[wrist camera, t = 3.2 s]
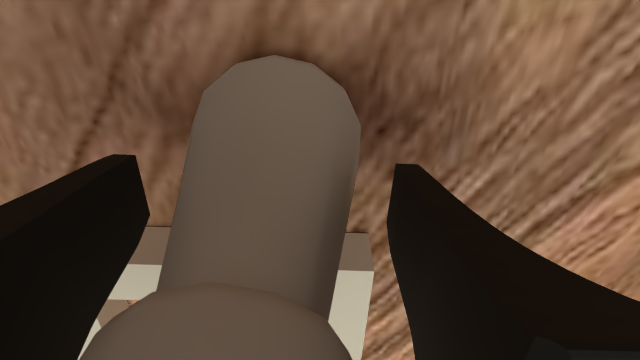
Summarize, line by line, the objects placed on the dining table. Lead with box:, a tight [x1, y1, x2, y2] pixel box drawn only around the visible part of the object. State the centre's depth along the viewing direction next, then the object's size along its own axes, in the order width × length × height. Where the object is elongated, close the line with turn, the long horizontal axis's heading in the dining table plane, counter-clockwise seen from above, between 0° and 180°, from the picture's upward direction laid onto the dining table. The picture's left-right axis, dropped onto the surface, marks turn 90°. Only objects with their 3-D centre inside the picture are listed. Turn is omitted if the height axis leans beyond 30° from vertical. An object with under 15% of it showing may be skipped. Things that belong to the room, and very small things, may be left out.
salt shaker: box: [79, 55, 361, 360], centre depth 10 cm, size 6×6×13 cm
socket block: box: [78, 227, 374, 360], centre depth 21 cm, size 18×12×2 cm, turn 88°
